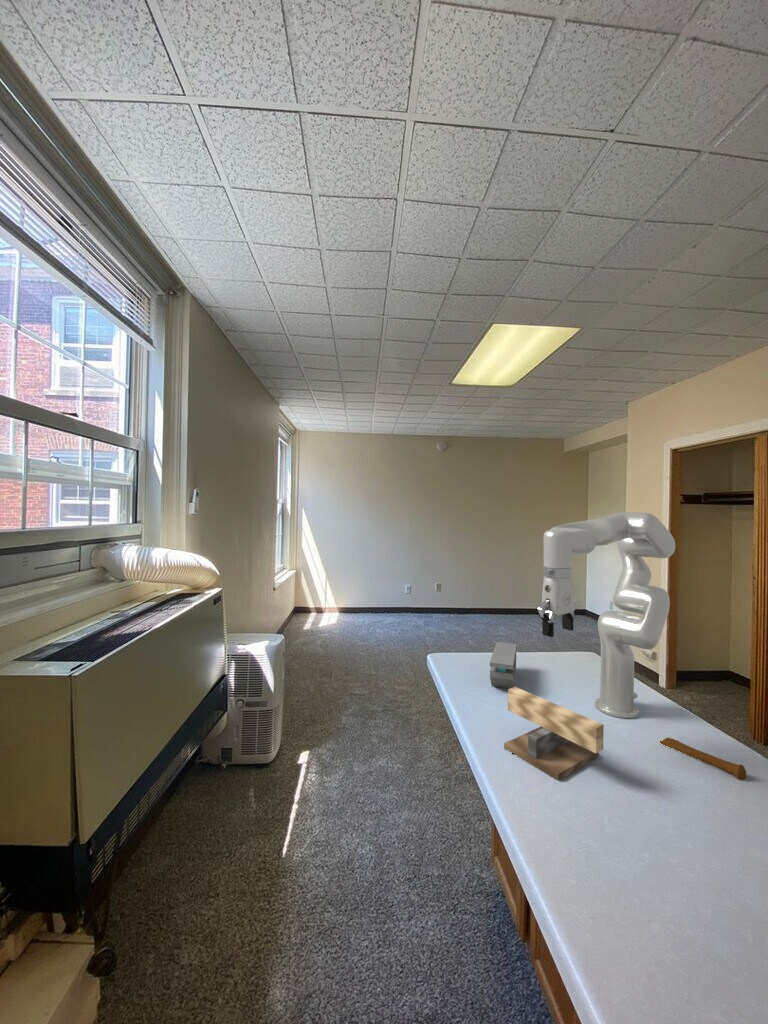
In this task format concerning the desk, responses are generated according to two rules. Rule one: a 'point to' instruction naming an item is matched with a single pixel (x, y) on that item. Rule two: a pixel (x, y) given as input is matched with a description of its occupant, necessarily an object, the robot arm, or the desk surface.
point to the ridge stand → (550, 752)
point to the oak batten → (557, 719)
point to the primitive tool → (707, 758)
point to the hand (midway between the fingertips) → (558, 632)
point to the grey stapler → (503, 665)
